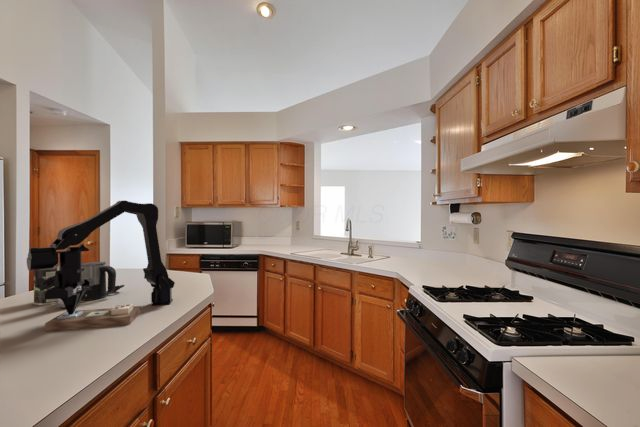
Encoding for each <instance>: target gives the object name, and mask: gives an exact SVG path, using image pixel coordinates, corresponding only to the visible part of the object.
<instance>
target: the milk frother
mask: <svg viewBox="0 0 640 427" xmlns="http://www.w3.org/2000/svg"><path fill="white" fill-rule="evenodd" d="M106 264H107V262H106V261H93V262H86V263H85V262H84V263H82V268H84V271H82V278H92V279H93V280H94V285H93V286H91V287H88V285H87V286H80V288H81V290H86V291H85V292H84V294H83V296H82V298H81V300H80V301H94V300H99V299H103V298H106V297H107V296H108V294H111V293H115V292H117V291H119V290H120V289H122V288H124V287H125V284H120V285H116V283H117V282H116V280H117V272H116V269H115V268H114V267H113V266H110V265H106ZM106 273H107V274H106ZM106 278H107V279H106Z"/></svg>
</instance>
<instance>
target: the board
mask: <svg viewBox="0 0 640 427" xmlns="http://www.w3.org/2000/svg"><path fill="white" fill-rule="evenodd" d="M113 308H114V307H110V308H93V309H82V310H81V309H80V310H79V309H78V310H75V311H74V312H80V311H83V314H82V315H80V316H78V317H77V318H67V319H57V317H59V316H60V315H62V314H64V313H66V312H67V310H66V311H64V312H62V313H60V314H59V315H57V316H55V317H53V318H52V319H49V320H48V321H46V322H45V323H44V328H45V329H44V332H53V331H65V330H76V329H88V328H89V329H90V328H100V327H101V328H102V327H110V326H111V327H112V326H123V325H131V324H132V323H133V322H134V321H135V319H137V318H138V317H139V316H140V315H141V314H142V305H138V306H134V305H133V311H132V312H130V313H129V314H119V315H111V309H113ZM98 311H109V312H108V313H106V314H105V315H104V316H93V317H85V316H86V315H88V314H89V313H91V312H98Z"/></svg>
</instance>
